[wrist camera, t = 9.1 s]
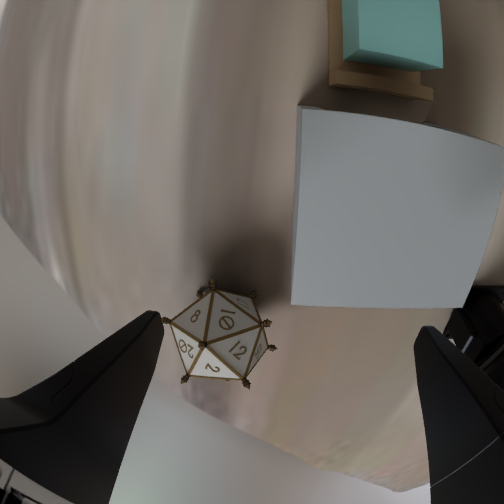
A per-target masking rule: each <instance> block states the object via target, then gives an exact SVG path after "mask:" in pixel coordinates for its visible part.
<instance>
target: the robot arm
mask: <svg viewBox="0 0 504 504" xmlns="http://www.w3.org/2000/svg"><path fill="white" fill-rule="evenodd" d="M503 301H504V286H472V287H471V289H470V291H469V294H468V296H467V298H466V301H465V303H464V305H463V307H462V308H455V309H454V311H453V314H452V316H451V318H450V320H449V322H448V324H447V326H446V328H445V330H444V332H443V334H442V333H441V332H440V331H438V330H437V329H436V328H435V327H434V326H423V327H422V328H421V330H420V332H419V334H418V336H417V338H416V340H415V343H414V356H415V365H416V375H417V385H418V391H419V396H420V402H421V408H422V414H423V420H424V427H425V434H426V442H427V451H428V461H429V473H430V487H431V488H430V491H431V504H504V303H503ZM163 336H164V327H163V323H162V319H161V316H160V313H159V312H157V311H150V310H148V311H146V312H144V313H143V314H141V315H140V316H139V317H137V318H136V319H134V320H133V321H131V322H130V323H128V324H127V325H125V326H124V327H122V328H121V329H120V330H118V331H117V332H115V333H114V334H112V335H111V336H109V337H108V338H106V339H105V340H104V341H102V342H101V343H99V344H98V345H97V346H95V347H93V348H92V349H91V350H89V351H88V352H86V353H85V354H83V355H82V356H81V357H79V358H78V359H76V360H75V361H74V362H72V363H70V364H69V365H67V366H66V367H65V368H63V369H62V370H60V371H59V372H57V373H56V374H54V375H52V376H51V377H49V378H47V379H45V380H44V381H42V382H40V383H39V384H37V385H35V386H33V387H32V388H30V389H28V390H26V391H24V392H23V393H21V394H19V395H17V396H14V397H9V398H0V504H109V501H110V497H111V494H112V491H113V488H114V484H115V482H116V478H117V475H118V472H119V469H120V466H121V462H122V460H123V457H124V454H125V451H126V448H127V445H128V442H129V439H130V436H131V433H132V431H133V428H134V425H135V422H136V419H137V417H138V414H139V411H140V408H141V406H142V403H143V400H144V397H145V395H146V392H147V390H148V387H149V384H150V382H151V379H152V376H153V373H154V370H155V367H156V363H157V359H158V355H159V351H160V348H161V344H162V340H163ZM449 339H453V340H454V342H455V344H456V346H455V345H454V344H453V343H452V342H451V341H450V340H449Z"/></svg>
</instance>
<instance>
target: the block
mask: <svg viewBox="0 0 504 504" xmlns="http://www.w3.org/2000/svg"><path fill="white" fill-rule="evenodd" d="M342 20H343V60H346V61H354V62H361V63H367V64H373V65H379V66H384V67H389V68H394V69H399V70H403V71H408V72H416V71H423V70H431V69H441V68H443V44H442V27H441V15H440V5H439V0H342Z"/></svg>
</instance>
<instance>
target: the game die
mask: <svg viewBox="0 0 504 504" xmlns="http://www.w3.org/2000/svg"><path fill="white" fill-rule="evenodd" d="M216 283H217V282H216V281H215V280H214V279H213V278H211V281H210V282H209V285H210V288H211V290H210V291H208V292H207V293H206V294H204V295H203V293H202V291H198V292H197V296H198V297H199V299H198V300H196V301H195V302H194V303H193V304H191V305H190V306H189V307H187V308H186V309H185V310H183V311H182V312H181V313H179V314H178V315H177V316H175V317H174V318H173V319H171V320H170V319H168V317H167V318H166V317H165V316H164V317H163V318H161V319H162V322H163V323H166V324H170V326H171V330H172V333H173V336H174V339H175V342H176V345H177V348H178V351H179V354H180V357H181V360H182V362H183V365H184V368H185V371H186V375H184V376H183V377H182V378H181V384H182V383H187V381H188V379H189V377H200V378H211V379H226V380H227V381H229V380H242V381H243V385H244V387H246V388H248V389H249V390H250V384H251V383H250V382H249V380H247V379H246V377H247V376H248V375H249V373H250V372H251V371H252V369H253V368H254V366H255V365H256V364H257V362H258V361H259V360H260V358H261V357H262V355H263V354H264V353H265V351H266V350H267V349H269V350H270V351H274V350H276V349H277V348H276V347H275V345H268V342H267V338H266V334H265V330H264V327H270V325H271V323H272V321H270V320H268V319H266V320H264V321H263V322H262V320H261V318H260V315H259V313H258V311H257V308H256V306H255V303H254V301H253V298H256V296H257V292H258V290H256V291H252V293H251V295H250V297H248V296H244V295H240V294H235V293H231V292H227V291H223V290H219V289H216V286H217V285H216Z"/></svg>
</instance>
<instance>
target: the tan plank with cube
mask: <svg viewBox="0 0 504 504" xmlns="http://www.w3.org/2000/svg"><path fill="white" fill-rule="evenodd" d="M327 6H328V46H329V73H328V86H334V87H343V88H352V89H359V90H366V91H373V92H379V93H385V94H390V95H396V96H401V97H406V98H410V99H418V100H429V101H433V100H434V88H431V87H427V86H423V85H421V71H416V72H408V71H403V70H399V69H394V68H389V67H384V66H379V65H373V64H367V63H361V62H354V61H346V60H343V20H342V0H327Z"/></svg>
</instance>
